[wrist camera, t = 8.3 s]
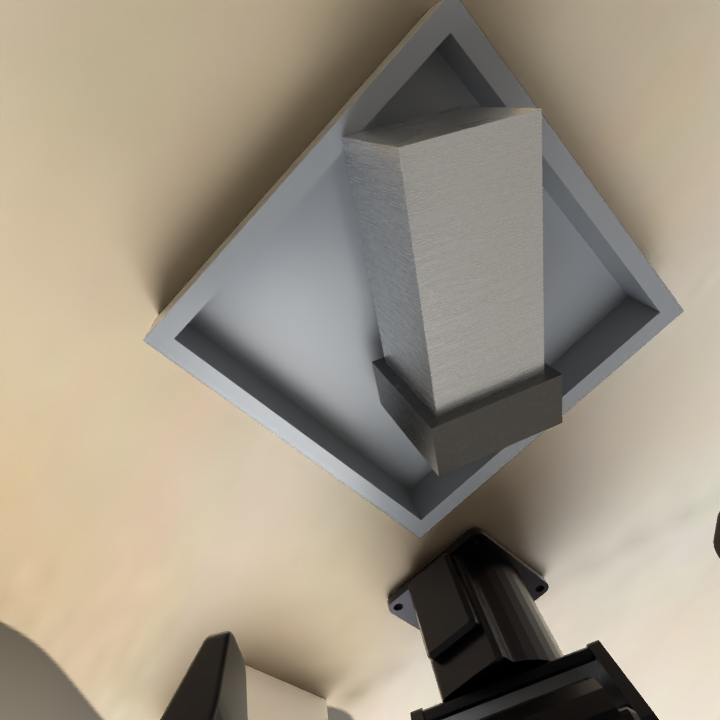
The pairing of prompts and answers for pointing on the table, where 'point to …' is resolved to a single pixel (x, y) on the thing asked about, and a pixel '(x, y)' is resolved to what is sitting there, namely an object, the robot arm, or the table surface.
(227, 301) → the tray
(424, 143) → the strut
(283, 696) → the beige cube
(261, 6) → the table surface
